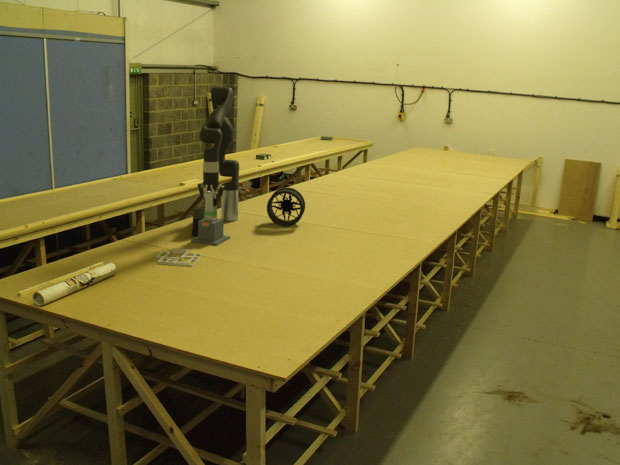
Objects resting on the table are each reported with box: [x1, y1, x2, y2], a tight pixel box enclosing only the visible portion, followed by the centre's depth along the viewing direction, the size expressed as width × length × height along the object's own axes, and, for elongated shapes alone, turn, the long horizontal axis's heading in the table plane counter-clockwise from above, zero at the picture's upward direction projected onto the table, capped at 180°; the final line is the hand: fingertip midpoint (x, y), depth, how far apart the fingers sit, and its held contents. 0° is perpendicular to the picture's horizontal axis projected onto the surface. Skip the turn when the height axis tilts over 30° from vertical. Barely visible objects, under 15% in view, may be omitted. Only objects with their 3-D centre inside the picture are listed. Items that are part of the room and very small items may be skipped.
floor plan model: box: [155, 247, 203, 267], centre depth 273 cm, size 19×25×2 cm
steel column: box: [204, 191, 218, 222], centre depth 298 cm, size 4×4×16 cm
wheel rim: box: [266, 186, 306, 228], centre depth 333 cm, size 20×9×20 cm, turn 84°
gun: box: [191, 207, 205, 236], centre depth 320 cm, size 7×29×15 cm, turn 4°
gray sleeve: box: [190, 218, 231, 246], centre depth 301 cm, size 14×14×10 cm
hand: (210, 205), depth 297 cm, fingers closed on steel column, 4 cm apart
